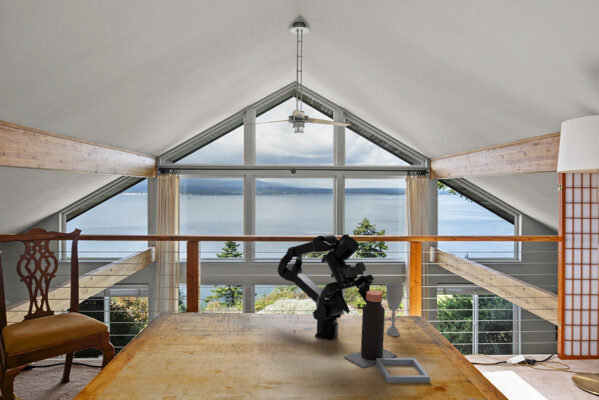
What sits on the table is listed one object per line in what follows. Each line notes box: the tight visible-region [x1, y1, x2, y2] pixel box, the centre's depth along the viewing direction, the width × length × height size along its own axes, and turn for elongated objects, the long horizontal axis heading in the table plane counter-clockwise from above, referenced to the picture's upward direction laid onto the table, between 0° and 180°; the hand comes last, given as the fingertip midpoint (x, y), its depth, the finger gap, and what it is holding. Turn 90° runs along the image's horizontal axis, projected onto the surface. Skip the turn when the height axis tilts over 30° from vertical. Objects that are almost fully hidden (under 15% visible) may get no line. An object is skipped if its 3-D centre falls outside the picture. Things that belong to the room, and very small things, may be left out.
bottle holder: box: [375, 357, 431, 384], centre depth 122 cm, size 12×12×2 cm
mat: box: [343, 348, 398, 369], centre depth 131 cm, size 8×15×1 cm, turn 127°
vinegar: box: [360, 290, 386, 360], centre depth 131 cm, size 7×7×20 cm
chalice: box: [384, 281, 405, 337], centre depth 152 cm, size 7×7×18 cm
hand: (359, 309), depth 135 cm, fingers open, 9 cm apart
